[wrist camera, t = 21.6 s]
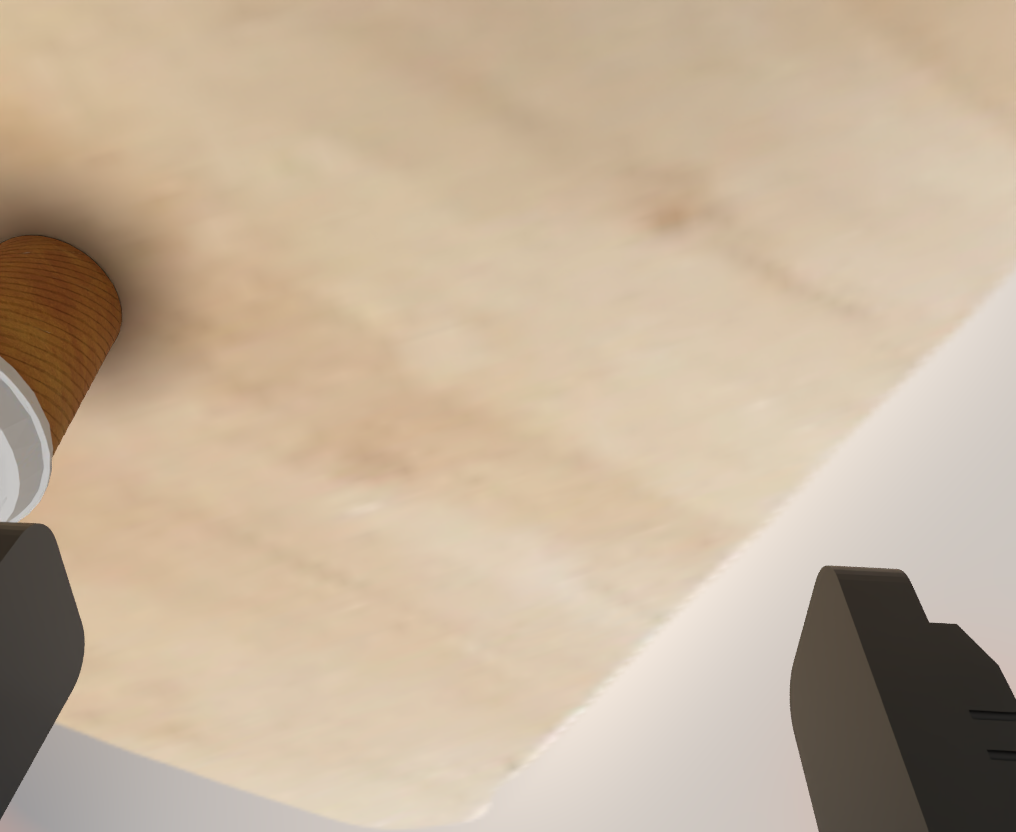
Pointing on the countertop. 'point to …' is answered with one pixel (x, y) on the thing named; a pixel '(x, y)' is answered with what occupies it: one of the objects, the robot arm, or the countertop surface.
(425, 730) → the countertop surface
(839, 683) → the robot arm
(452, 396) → the countertop surface
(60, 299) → the disposable coffee cup
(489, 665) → the countertop surface
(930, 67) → the countertop surface
